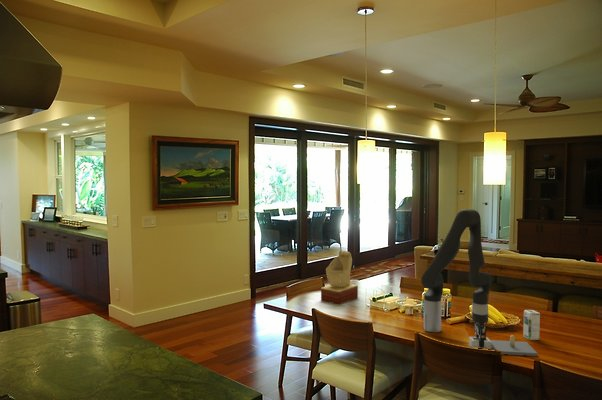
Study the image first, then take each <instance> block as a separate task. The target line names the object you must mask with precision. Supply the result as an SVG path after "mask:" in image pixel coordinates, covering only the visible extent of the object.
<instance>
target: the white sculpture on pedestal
mask: <svg viewBox="0 0 602 400" xmlns="http://www.w3.org/2000/svg"><path fill="white" fill-rule="evenodd" d="M352 257H353V256H352V253H351V252H350V251H347V250H342V248H340V250H339V251H338V256H336V257H335V258H334V259H332V261H331V262H330V264H329V265H328V266H327V267H326V268H325V274H326V278H327V282H328V284H329V285H326V286H322V287H321V288H320V301H322V302H327V303H332V304H335V305H336V304H337V305H340V304H341V305H342V304H344V303H347V302H349V301H350V302H351V301H352V300H355V299H358V297H359V293H358V289H359V287H358V285H359V284H358V285H357V284H351V270H352V265H353V258H352Z"/></svg>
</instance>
